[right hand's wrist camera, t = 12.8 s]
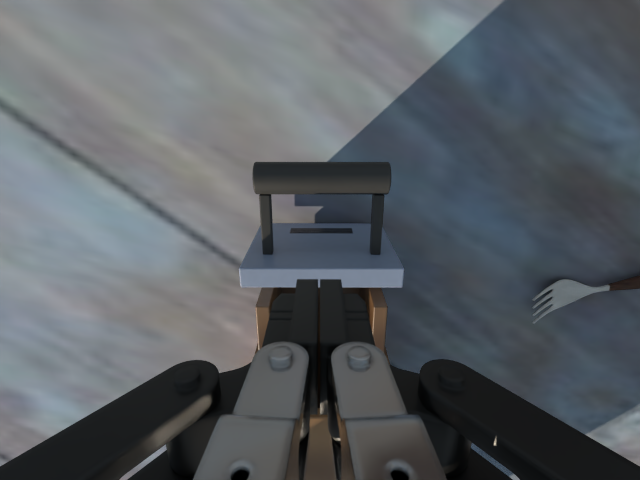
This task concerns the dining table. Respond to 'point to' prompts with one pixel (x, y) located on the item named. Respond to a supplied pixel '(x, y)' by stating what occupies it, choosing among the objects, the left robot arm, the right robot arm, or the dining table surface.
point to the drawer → (322, 241)
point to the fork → (576, 293)
